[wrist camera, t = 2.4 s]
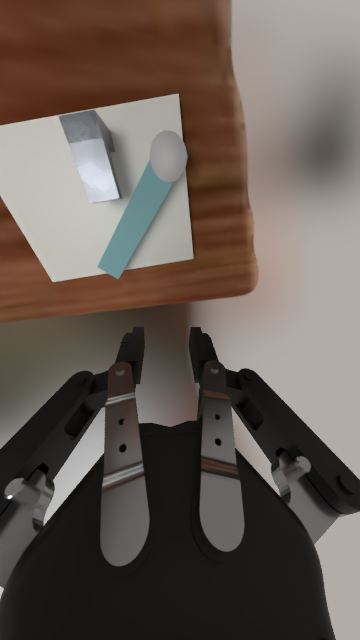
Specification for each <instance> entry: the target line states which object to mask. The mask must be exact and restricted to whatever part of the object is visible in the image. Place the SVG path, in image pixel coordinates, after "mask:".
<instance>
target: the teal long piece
mask: <svg viewBox="0 0 360 640" xmlns="http://www.w3.org/2000/svg"><path fill="white" fill-rule="evenodd" d="M188 157H189V156H188V155H187V152H186V147H185V144H184V142H183V140H182V139H181V138H180V136H179V135H178V134H176V133H175V132H173V131H169V130H166V131H165V130H164V131H162V132H160V133H159V134H157V135H156V137H155V138H154V140H153V141H152V144H151V147H150V160H149V162H148V164H147V166H146V168H145V170H144V172H143V174H142V176H141V178H140V180H139V182H138V184H137V186H136V188H135V191H134V193H133V195H132V197H131V199H130V201H129V203H128V205H127V207H126V209H125V211H124V213H123V215H122V217H121V219H120V221H119V223H118V225H117V227H116V229H115V232H114V234H113V236H112V238H111V240H110V242H109V244H108V246H107V248H106V250H105V252H104V254H103V256H102V258H101V260H100V262H99V264H98V266H97V267H98V268H100V269H102V270H103V271H105V272H107V273H108V274H110V275H112V276H113V277H115V278H117V279H119V277H120V276H121V274H122V272H123V270H124V269H125V267H126V265H127V263H128V262H129V260H130V258H131V257H132V255H133V253H134V251H135V250H136V248H137V246H138V244H139V243H140V241H141V239H142V237H143V236H144V234H145V232H146V230H147V229H148V227H149V225H150V223H151V222H152V220H153V218H154V216H155V215H156V213H157V211H158V209H159V208H160V206H161V204H162V202H163V201H164V199H165V197H166V195H167V194H168V192H169V190H170V188H171V187H172V185H173V183H175V182H176V181H178V179H179V178H180V177H181V175H182V173H183V172H184V170H185V167H186V163H187V159H188Z"/></svg>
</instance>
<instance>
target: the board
mask: <svg viewBox="0 0 360 640" xmlns="http://www.w3.org/2000/svg"><path fill="white" fill-rule="evenodd" d="M90 110H95V111H96V112H97V114H98V115H99V116H100V118H101V119H102V120H103V122H104V123H105V124H106V126H107V127H108V129H109V130H110V133H111V136H112V140H113V144H114V148H115V152H110V155H111V159H112V162H113V166H114V170H115V173H116V177H117V181H118V184H119V188H120V192H121V195H122V199H118V200H112V201H106V202H100V203H90V201H89V198H88V195H87V193H86V190H85V187H84V185H83V182H82V179H81V176H80V174H79V171H78V168H77V165H76V163H75V160H74V157H73V155H72V152H71V149H70V146H69V144H68V141H67V138H66V135H65V133H64V130H63V127H62V125H61V122H60V119H59V116H61V115H57V116H51V117H46V118H40V119H35V120H29V121H23V122H18V123H12V124H7V125H1V126H0V196H1V198H2V199H3V201H4V203H5V204H6V206H7V208H8V209H9V211H10V212H11V214H12V216H13V217H14V219H15V221H16V222H17V224H18V226H19V227H20V229H21V231H22V232H23V234H24V236H25V237H26V239H27V240H28V242H29V244H30V245H31V247H32V249H33V250H34V252H35V254H36V255H37V257H38V259H39V260H40V262H41V263H42V265H43V267H44V268H45V270H46V272H47V273H48V275H49V277H50V278H51V280H52V282H57V281H63V280H69V279H75V278H81V277H87V276H93V275H99V274H105V273H107V272H105V271H103V270H102V269H100V268H98V267H97V266H98V264H99V262H100V260H101V258H102V256H103V254H104V252H105V250H106V248H107V246H108V244H109V242H110V240H111V238H112V236H113V234H114V232H115V229H116V227H117V225H118V223H119V221H120V219H121V217H122V215H123V213H124V211H125V209H126V207H127V205H128V203H129V201H130V199H131V197H132V195H133V193H134V191H135V188H136V186H137V184H138V182H139V180H140V178H141V176H142V174H143V172H144V170H145V168H146V166H147V164H148V162H149V160H150V147H151V144H152V141H153V140H154V138H155V137H156V135H157V134H159V133H160V132H162V131H164V130H165V131H166V130H169V131H173V132H175V133H176V134H178V135H179V136H180V138H181V139H182V140H183V136H182V125H181V114H180V103H179V94H174V95H168V96H162V97H157V98H151V99H146V100H140V101H135V102H129V103H123V104H118V105H112V106H107V107H101V108H96V109H90ZM85 111H89V110H85ZM79 112H84V111H79ZM73 113H78V112H73ZM73 113H68V114H73ZM62 115H67V114H62ZM189 259H194V258H193V247H192V235H191V224H190V213H189V202H188V191H187V180H186V169H185V170H184V172H183V173H182V175H181V177H180V178H179V179H178V181H176V182H175V183H173V185H172V187H171V188H170V190H169V192H168V194H167V195H166V197H165V199H164V201H163V202H162V204H161V206H160V208H159V209H158V211H157V213H156V215H155V216H154V218H153V220H152V222H151V223H150V225H149V227H148V229H147V230H146V232H145V234H144V236H143V237H142V239H141V241H140V243H139V244H138V246H137V248H136V250H135V251H134V253H133V255H132V257H131V258H130V260H129V262H128V263H127V265H126V267H125V269H124V270H129V269H135V268H141V267H147V266H153V265H159V264H165V263H171V262H177V261H183V260H189Z"/></svg>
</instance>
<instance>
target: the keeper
mask: <svg viewBox="0 0 360 640" xmlns="http://www.w3.org/2000/svg"><path fill="white" fill-rule="evenodd" d="M59 119H60V122H61V125H62V127H63V130H64V133H65V135H66V138H67V141H68V144H69V146H70V149H71V152H72V155H73V157H74V160H75V163H76V165H77V168H78V171H79V174H80V176H81V179H82V182H83V185H84V187H85V190H86V193H87V195H88V198H89V201H90V203H100V202H106V201H112V200H118V199H122V195H121V192H120V188H119V184H118V181H117V177H116V173H115V170H114V166H113V162H112V159H111V155H110V152H115V148H114V144H113V140H112V136H111V133H110V130H109V129H108V127H107V126H106V124H105V123H104V122H103V120H102V119H101V118H100V116H99V115H98V114H97V112H96V111H95V110H89V111H84V112H78V113H73V114H67V115H61V116H59Z"/></svg>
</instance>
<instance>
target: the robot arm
mask: <svg viewBox="0 0 360 640" xmlns="http://www.w3.org/2000/svg"><path fill="white" fill-rule="evenodd" d="M144 349H145V337H144V327H138V326H137V327H136V326H135V327H134V329H133V333H126V335H125V336H124V337H123V339H122V342H121V346H120V349H119V352H118V355H117V358H116V362H115V364H113V365H112V366H111V367H110V368H109V370H108V371H106V372H103V373H100V374H96V375H93V374H92V373H91V372H89V371H81V372H78V373H76V374H75V375H73V376H72V377H71V378H70V379H69V380H68V381H67V382H66V383H65V384H64V385H63V386H62V387H61V388H60V389H59V390H58V391H57V392H56V393H55V394H54V395H53V396H52V397H51V398H50V399H49V400H48V401H47V402H46V403H45V404H44V405H43V406H42V407H41V408H40V409H39V410H38V411H37V412H36V414H34V415H33V416H32V417H31V418H30V420H29V421H28V422H27V423H26V424H25V425H24V426H23V427H22V428H21V429H20V430H19V431H18V432H17V433H16V434H15V435H14V436H13V437H12V438H11V439H10V440H9V441H8V442H7V443H6V444H5V445H4V446H3V447H2V448H1V449H0V586H1V587H3V588H4V591H3V593H2V596H1V599H0V640H336V639H335V635H334V632H333V628H332V625H331V620H330V616H329V612H328V607H327V602H326V597H325V589H324V582H323V574H322V569H321V565H320V560H319V557H318V554H317V551H316V549H315V546H314V544H315V543H316V542H317V541H318V539H319V538H320V537H321V536H322V535H323V534H324V533H325V532H326V530H327V529H328V528H329V527H330V526H331V525H332V524H333V523H334V521H335V520H336V519H337V518H338V517H342V516H345V515H349V514H353V513H356V512H359V511H360V480H359V479H358V478H357V477H356V476H355V475H354V474H353V472H351V470H350V469H349V468H348V467H347V466H346V465H345V464H344V463H343V462H342V461H341V460H340V459H339V458H338V457H337V456H336V455H335V454H334V453H333V452H332V451H331V450H330V449H329V448H328V447H327V446H326V445H325V443H323V442H322V441H321V439H320V438H319V437H318V436H317V435H316V434H315V433H314V432H313V431H312V430H311V429H310V428H309V427H308V426H307V425H306V424H305V423H304V422H303V421H302V420H301V419H300V418H299V417H298V416H297V415H296V414H295V412H294V411H293V410H292V409H291V408H290V407H289V406H288V405H287V404H286V403H285V402H284V401H283V400H282V399H281V398H280V397H279V396H278V395H277V394H276V393H275V392H274V391H273V390H272V389H271V388H270V387H269V386H268V385H267V384H266V383H265V382H264V381H263V379H262V378H260V376H259V375H258V374H257V373H256V372H254V371H253V370H250V369H241V370H240V371H239V372H235V371H231V370H228V369H225V367H224V366H223V364H221V363H220V362H219V361H218V358H217V355H216V352H215V349H214V347H213V343H212V340H211V338H210V337H209V335H208V334H206V333H202V331H201V328H200V327H191V329H190V336H189V352H190V358H191V363H192V369H193V375H194V380H195V383H199V385H200V388H199V397H198V409H197V419H196V421H187V422H184V423H181V424H178V425H176V426H173V427H167V426H163V425H159V424H154V423H140V424H139V422H138V414H137V406H136V398H135V388H136V384H140V379H141V372H142V364H143V357H144ZM231 406H232V408H233V409H234V411H235V412H236V414H237V415H238V416H239V418H240V419H241V421H242V422H243V424H244V425H245V426H246V428H247V429H248V431H249V432H250V434H251V435H252V436H253V438H254V439H255V441H256V442H257V444H258V445H259V446H260V448H261V449H262V451H263V452H264V454H265V455H266V457H267V458H268V459H269V461H270V462H271V464H272V465H271V473H272V476H273V479H274V482H275V484H276V485H277V486H278V488H279V492H280V496H281V497H280V496H279V495H278V494H277V493H276V492H275V491H274V490H273V488H272V487H271V486H270V485H269V484H268V483H267V482H266V481H265V480H264V479H263V477H261V475H260V474H259V473H258V472H257V471H256V470H255V469H254V468H253V467H252V465H251V464H250V463H249V462H248V461H247V460H246V459H245V458H244V457H243V456H242V455H241V453H240V452H239V451H238V450H237V449H236V448H235V443H234V434H233V433H234V432H233V422H232V411H231ZM103 407H105V446H104V454H103V455H102V456H101V457H100V459H99V460H98V461H97V462H96V463H95V465H94V466H93V467H92V468H91V470H90V471H89V472H88V473H87V474H86V475H85V477H84V478H83V479H82V481H81V482H80V483H79V484H78V485H77V486H76V488H75V489H74V490H73V491H72V492H71V494H70V495H69V496H68V497H67V499H66V500H65V501H64V502H63V503H62V504H61V506H60V507H59V508H58V509H57V511H56V512H55V513H54V514H53V515H52V517H51V518H50V519H49V520H48V521H47V523H46V524H45V525H44V526H43V522H44V516H45V513H46V510H47V508H48V506H49V504H50V502H51V500H52V497H53V495H54V490H55V487H54V482H53V479H54V478H55V476H56V475H57V474H58V472H59V470H60V469H61V467H62V466H63V465H64V463H65V462H66V460H67V459H68V457H69V456H70V454H71V453H72V451H73V450H74V448H75V447H76V445H77V444H78V442H79V441H80V439H81V438H82V436H83V435H84V433H85V432H86V430H87V429H88V427H89V426H90V424H91V423H92V421H93V420H94V418H95V417H96V415H97V414H98V413H99V411H100V410H101V408H103Z"/></svg>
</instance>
